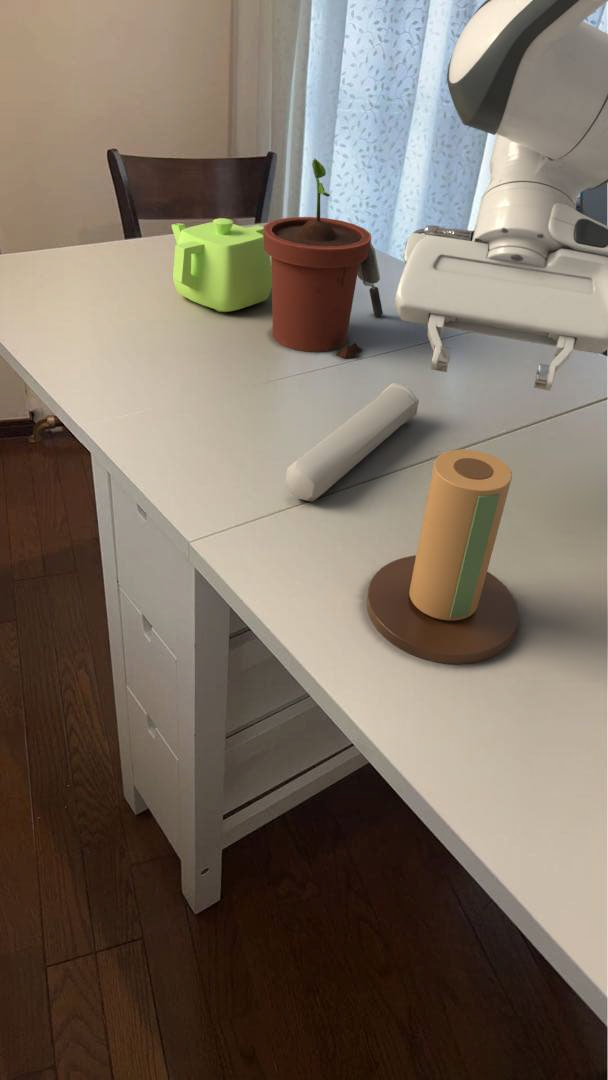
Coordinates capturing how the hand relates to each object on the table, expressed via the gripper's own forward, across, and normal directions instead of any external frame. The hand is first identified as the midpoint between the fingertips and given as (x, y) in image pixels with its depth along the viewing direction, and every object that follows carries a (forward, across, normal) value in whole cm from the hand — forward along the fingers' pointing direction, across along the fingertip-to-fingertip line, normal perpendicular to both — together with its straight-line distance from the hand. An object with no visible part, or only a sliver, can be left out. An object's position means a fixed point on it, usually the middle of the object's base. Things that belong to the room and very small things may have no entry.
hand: (490, 377), depth 73 cm
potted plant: (-20, -26, +48) cm, 58 cm away
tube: (+5, -14, +22) cm, 27 cm away
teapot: (-26, -48, +53) cm, 76 cm away
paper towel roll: (+20, 0, +4) cm, 21 cm away
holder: (+21, 0, +5) cm, 22 cm away
